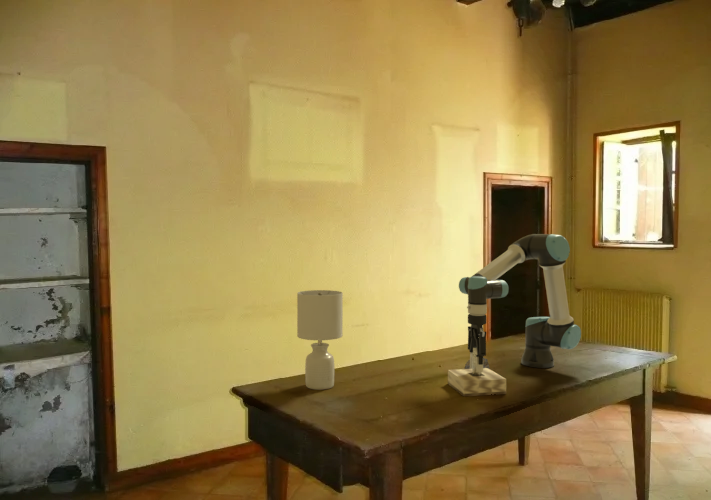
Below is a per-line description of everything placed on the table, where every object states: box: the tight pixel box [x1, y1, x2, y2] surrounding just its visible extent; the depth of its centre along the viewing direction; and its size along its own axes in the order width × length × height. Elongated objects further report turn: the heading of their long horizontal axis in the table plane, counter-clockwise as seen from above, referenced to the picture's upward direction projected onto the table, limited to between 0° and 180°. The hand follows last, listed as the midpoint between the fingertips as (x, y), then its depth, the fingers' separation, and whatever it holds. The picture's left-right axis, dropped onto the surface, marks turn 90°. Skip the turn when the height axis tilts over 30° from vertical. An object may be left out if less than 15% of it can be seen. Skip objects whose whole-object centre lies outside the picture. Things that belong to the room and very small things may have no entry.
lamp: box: [296, 289, 344, 391], centre depth 239 cm, size 19×19×39 cm
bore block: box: [447, 368, 507, 397], centre depth 237 cm, size 18×18×6 cm
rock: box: [464, 357, 491, 370], centre depth 260 cm, size 11×10×10 cm
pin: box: [472, 347, 482, 376], centre depth 236 cm, size 4×4×16 cm
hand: (476, 369), depth 237 cm, fingers open, 6 cm apart
